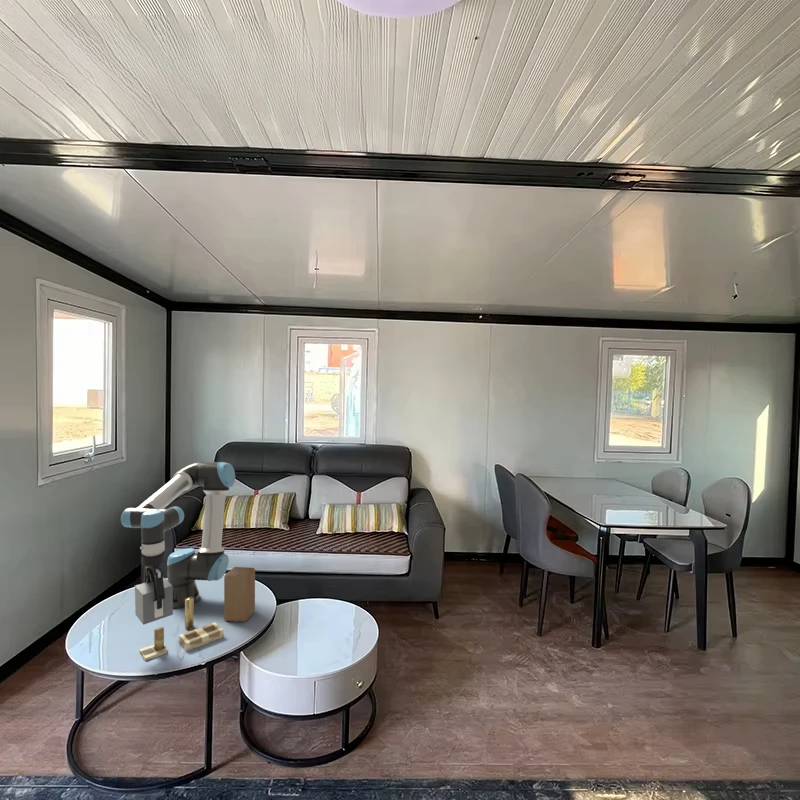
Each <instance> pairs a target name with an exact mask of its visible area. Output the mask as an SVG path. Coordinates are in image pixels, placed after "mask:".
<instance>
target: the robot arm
mask: <svg viewBox="0 0 800 800" xmlns="http://www.w3.org/2000/svg"><path fill="white" fill-rule="evenodd" d="M171 478H172V479H170V480H169V481H168V482H166V483H165V484H164V485H163V486H161V487H160V488H159V489H158V490H156V492H154V493H153V494H152V495H150V496H149V497H147V499H145V500H144V501H143V502H142V503H140V504H139V505H137V507H127V508H125V509H124V510H123V511H122V513H121V515H120V522H121V525H122V526H123V527H124V528H131V529H140V530H141V531H140V536H141V546H140V547H139V549H140V550H141V554H142V555H141V565H142V566H143V567H144V570H143V571H144V572H143V573H144V574H143V583H149V582H152V583H153V589H154V593H155V599H154V600H153V602H154V617H155V618H157V617H160V616H163V599H165V592H164V583H163V578H164V571H163V570H162V568H161V567H160V565H161V564H163V563H164V562H165V559H166V558H165V557H166V556H165V554H166V553H165V550H166V547H165V545H166V542H165V540H166V539H165V532H168V531H169V530H171V529H173V528H175V527H177V526H178V525H180V524H181V523H183V522H184V519H185V513H184V510H183V509H182V508H181V507H180V506H171V507H169V508H166V507H167V506H169V504H171V503H172V502H173V501H174V500H176V498H178V497H179V496H180V495H182V493H183V492H184V491H188V490H190V489H191V488H193V487H202V491H203V493H204V494H205V503H204V513H203V515H204V516H203V524H202V537H201V546H200V548H199V549H197V552H196V549H194V548H193V547H190V548H182V549H179V550H175V551H174V552H171V553H170V554H169V556H167V564H166V566H167V567H166V568H167V573H166V574H167V579H166V580H167V581H168V582H169V583H170V584H171V585H172V586H173V609H178V608H179V609H180V608H185V599H186V598H188V597H193V598H194V604H195V603H196V602H198V601H199V599H200V591H199V589H198V586H197V583H196V581H208V582H212V581H220V580H222V578H224V576H225V575H226V573H227V569H228V566H229V561H230V560H229V555H227V554H226V553H225V548H224V547H223V546H222V543H223V542H222V541H223V529H224V516H225V506H226V505H225V504H226V494H227V493H228V492H229V491H230V488H231V487H234V484H235V482H236V473H235V468H234V467H233V464H232V463H229V462H223V461H199V462H198V461H196V462H194V463H191V464H188V465H187V466H184V467H183V468H181V469H180V470H178V471H176V473H174V474H173V476H172V477H171Z"/></svg>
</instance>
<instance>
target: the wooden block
mask: <svg viewBox="0 0 800 800" xmlns="http://www.w3.org/2000/svg"><path fill="white" fill-rule="evenodd" d="M223 581H224V583H223V584H224V585H223V586H224V587H223V589H224V591H223V593H224V594H223V596H224V598H223V599H224V600H223V604H224V605H223V606H224V607H223V609H224V611H223V612H224V613H223V615H224V616H223V618H224V621H226V622H237V623H238V622H240V623H246V622H247V621H248V620H249V619H250V618H251V616H252V615H254V613H255V611H256V569H255V567H248V566H247V567H246V566H243V567H242V566H235V567H233V568H232V569H231V570H229V571H228V572H226V573H225V574H224V576H223Z"/></svg>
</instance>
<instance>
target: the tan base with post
mask: <svg viewBox="0 0 800 800" xmlns="http://www.w3.org/2000/svg"><path fill="white" fill-rule="evenodd" d="M153 631H154V632H153V633H154V637H153V639H154V641H153V644H151V645H148V646H145V647H142V648H140V649H139V650H138V652H139V655H141V657H142V658H143V660H144V661H145V662H146V661H147V662H148V660H152V659H154V658H157V657H159V656H162V655H165V654H168V653H169V650H168V648H167V647H166V645H165V628H164V627H163V626H159V627H157V628H155V629H154V630H153Z"/></svg>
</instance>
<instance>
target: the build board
mask: <svg viewBox="0 0 800 800" xmlns="http://www.w3.org/2000/svg"><path fill="white" fill-rule="evenodd" d="M222 638H224V628H222V627H221V625H219V624H218V623H217V622H216V621H214V622H212V623H209V624H207V625H202V626H200V627H198V628H196V629H195V628H194V629H191V630H189V631H187V632H184V633H181V634H179V635H178V644H179V645H181V647H182V648H183V649H184V650H185V652H189V651H191V650H194V649H197V648H198V647H199V648H200V647H201V645H202V646H204V645H207V644H209V643H211V642H215V641H216V640H219V639H222ZM193 648H194V649H193ZM188 650H189V651H188Z"/></svg>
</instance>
